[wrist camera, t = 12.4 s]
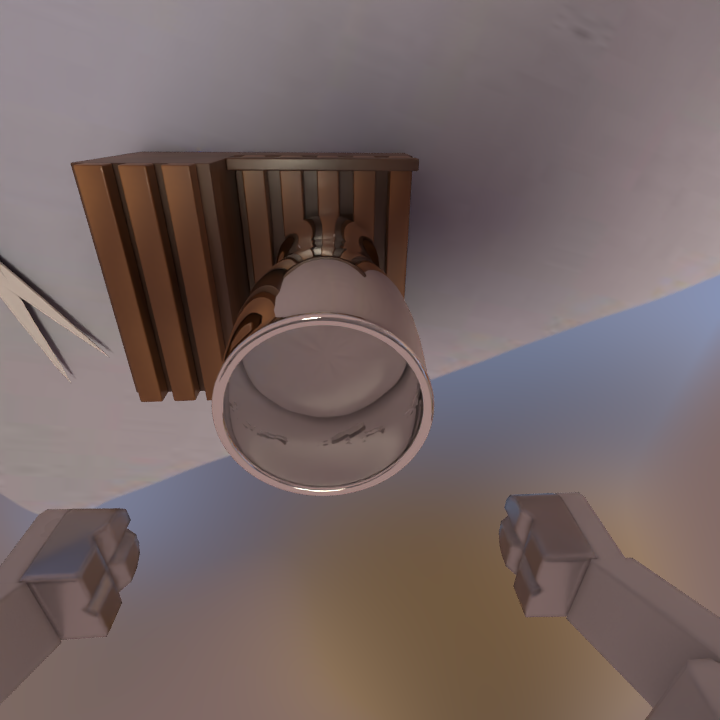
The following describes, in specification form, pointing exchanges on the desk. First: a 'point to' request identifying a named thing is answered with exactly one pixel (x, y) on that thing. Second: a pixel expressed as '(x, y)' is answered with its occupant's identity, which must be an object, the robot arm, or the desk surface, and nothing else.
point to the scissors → (12, 287)
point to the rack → (220, 242)
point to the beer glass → (324, 368)
